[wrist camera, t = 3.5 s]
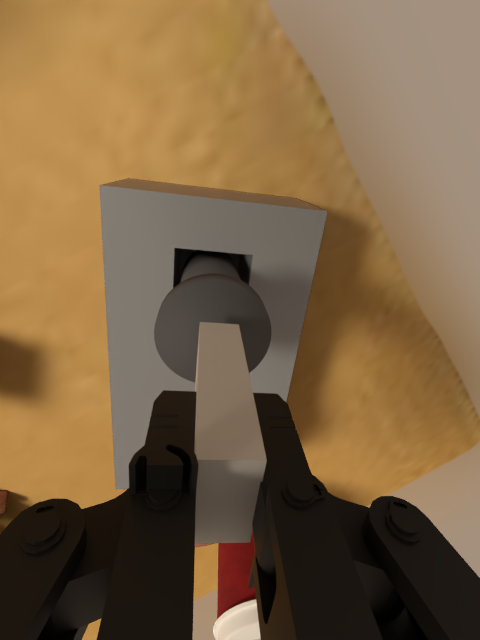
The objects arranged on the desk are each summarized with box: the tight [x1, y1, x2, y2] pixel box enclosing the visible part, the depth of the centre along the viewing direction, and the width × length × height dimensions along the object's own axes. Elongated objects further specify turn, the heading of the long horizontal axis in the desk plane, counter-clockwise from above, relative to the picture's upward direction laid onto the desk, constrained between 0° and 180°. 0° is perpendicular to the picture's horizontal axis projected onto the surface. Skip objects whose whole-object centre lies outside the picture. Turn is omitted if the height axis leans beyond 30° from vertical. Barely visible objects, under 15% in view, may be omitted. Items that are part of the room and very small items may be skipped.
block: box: [100, 178, 328, 489], centre depth 25 cm, size 22×12×7 cm, turn 173°
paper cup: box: [213, 531, 261, 640], centre depth 31 cm, size 8×8×14 cm
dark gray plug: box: [154, 250, 272, 382], centre depth 18 cm, size 5×5×9 cm
